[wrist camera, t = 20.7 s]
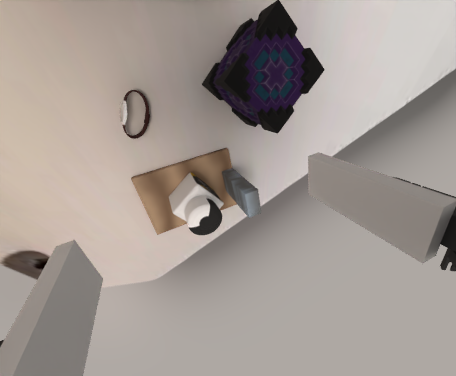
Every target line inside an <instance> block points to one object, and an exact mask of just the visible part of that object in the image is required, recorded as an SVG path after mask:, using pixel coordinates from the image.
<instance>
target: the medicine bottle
mask: <svg viewBox="0 0 456 376" xmlns="http://www.w3.org/2000/svg"><path fill="white" fill-rule="evenodd" d="M169 201H170V204H171V208H172V212H173V214H174V215H176V216H178V217H179V218H181V219H183V220H185V221H186V222H187V224H188V227H189V229H190V230H191V231H192V232H193V233H194V234H197V235H207V234H210V233H212V232H214V231H215V230H216V229H217V228H218V227H219V225H220V224H221V221H222V213H221V211H220V208H221V207H222V206H223V204H224V203H223V202H222V200H221V199H220V198H219V196H218V195H217V194H216V192H215V191H214V190H213V189H212V188H211V187H210V186H208V185H207V184H206V183H204V182H203V181H202V180H201V179H199V178H198V177H197V176H195V175H194V174H193V173H191V172H190V173H189V174H188V175H187V176H186V177H185V178H184V179H183V181H182V182H181V183H180V184H179V185H178V186H177V188H176V189H175V190H174V191H173V192H172V193H171V194H170V196H169Z"/></svg>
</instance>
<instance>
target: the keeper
mask: <svg viewBox="0 0 456 376" xmlns="http://www.w3.org/2000/svg"><path fill="white" fill-rule="evenodd" d="M190 172H191V173H193V174H194V175H195V176H197V177H198V178H199V179H201V180H202V181H203V182H204V183H206V184H207V185H208V186H210V187H211V188H212V189H213V190H214V191H215V192H216V194H217V195H218V196H219V198H220V199H221V200H222V202H223V203H224V204H223V206H222V207H221V208H220V210H223V209H226V208H228V207H231V206H233V205H236V204H238V205H239V207H240V208H241V209H242V210H243V211H244V212H245V214H246V215H247V216H248V217H252V216H255V215H257V214H259V213H261V208H260V201H259V194H258V189H257V188H255V187H254V186H253V185H252V184H251V183H249V182H248V181H247V180H246V179H245V178H243V177H242V176H241V175H240V174H239V173H237V172H236V171H235V170H234V169H232V166H231V161H230V156H229V151H228V148H224V149H221V150H218V151H214V152H211V153H208V154H205V155H202V156H198V157H195V158H192V159H189V160H186V161H182V162H179V163H176V164H173V165H170V166H166V167H163V168H160V169H157V170H154V171H150V172H147V173H144V174H141V175H138V176H134V177H132V178H131V180H132V182H133V184H134V186H135V188H136V190H137V192H138V194H139V197H140V199H141V201H142V203H143V205H144V207H145V209H146V211H147V214H148V216H149V218H150V220H151V222H152V224H153V226H154V228H155V231H156V233H157V235H158V234H161V233H163V232H166V231H169V230H171V229H174V228H176V227H179V226H182V225H184V224H187V222H186V221H185V220H183V219H181V218H179V217H178V216H176V215H174V214H173V212H172V208H171V204H170V201H169V196H170V194H171V193H172V192H173V191H174V190H175V189H176V188H177V186H178V185H179V184H180V183H181V182H182V181H183V179H184V178H185V177H186V176H187V175H188V174H189V173H190Z"/></svg>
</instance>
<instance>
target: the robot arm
mask: <svg viewBox="0 0 456 376" xmlns="http://www.w3.org/2000/svg"><path fill="white" fill-rule="evenodd" d="M308 172H309V195H311V196H312V197H314V198H316V199H317V200H319V201H321V202H323V203H324V204H325V205H327V206H329V207H330V208H332V209H334V210H335V211H337V212H339V213H340V214H342V215H344V216H345V217H347V218H349V219H350V220H352V221H354V222H355V223H357V224H359V225H360V226H362V227H364V228H365V229H367V230H368V231H370V232H372V233H374V234H375V235H377V236H378V237H380V238H382V239H383V240H385V241H386V242H388V243H390V244H392V245H393V246H395V247H396V248H398V249H400V250H401V251H403V252H405V253H406V254H408V255H410V256H411V257H413V258H415V259H416V260H418V261H419V262H421V263H424V262H426V261H428V260H429V259H431V258H432V257H434V256H436V254H437V251H438V249H439V246H440V244H441V245H443V246H445V247H447V248H448V249H447V251H446V254H445V256H444V258H443V261H442V263H441V265H440V266H441V269H442V270H446V268H447V265H448V263H449V262H452V266H451V268H450V270H451V271H456V197H454V196H451V195H448V194H445V193H442V192H439V191H436V190H433V189H430V188H427V187H424V186H423V187H421V186H420V185H418V184H415V183H410V182H409V181H405V180H403V179H400V178H395V177H390V176H387V175H384V174H381V173H378V172H375V171H372V170H369V169H366V168H363V167H360V166H357V165H354V164H351V163H348V162H345V161H342V160H339V159H336V158H334V157H331V156H328V155H325V154H322V153H316V154H313V155H310V156H308ZM102 281H103V278H102V277H101V275H100V274H99V273H98V271H97V270H96V268H95V267H94V266H93V264H92V263H91V262H90V260H89V259H88V258H87V256H86V255H85V254H84V252H83V251H82V249H81V248H80V247H79V245H78V244H77V243H76V241H75V240H73V241H70V242H67V243H65V244H62V245H59V246H56V248H55V249H54V251H53V253H52V255H51V257H50V258H49V260H48V262H47V264H46V266H45V267H44V269H43V271H42V273H41V275H40V276H39V278H38V280H37V282H36V284H35V285H34V287H33V289H32V291H31V293H30V295H29V296H28V298H27V300H26V302H25V304H24V305H23V307H22V309H21V311H20V313H19V315H18V316H17V318H16V320H15V322H14V323H13V325H12V327H11V329H10V331H9V332H8V334H7V336H6V338H5V340H2V341H0V376H83V373H84V368H85V363H86V358H87V354H88V348H89V344H90V339H91V334H92V330H93V325H94V320H95V315H96V310H97V305H98V300H99V296H100V290H101V286H102Z"/></svg>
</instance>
